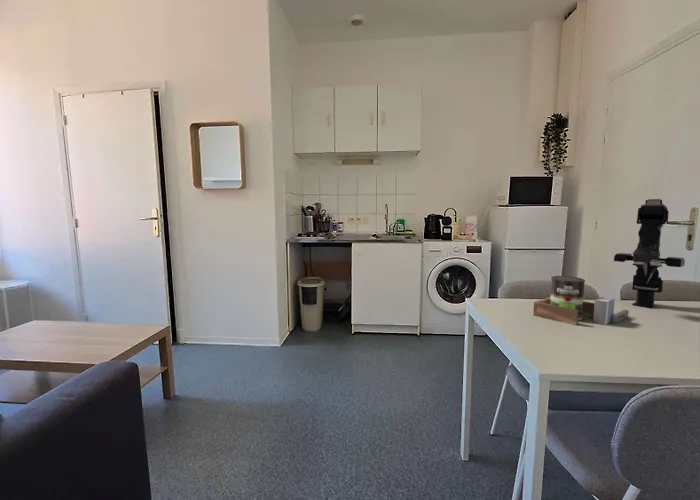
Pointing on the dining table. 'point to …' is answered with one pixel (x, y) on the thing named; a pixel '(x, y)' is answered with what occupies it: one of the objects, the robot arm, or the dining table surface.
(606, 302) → the blue block white cap
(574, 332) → the dining table surface
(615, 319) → the rails
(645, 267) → the robot arm
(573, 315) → the walnut bay
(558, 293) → the coffee can
